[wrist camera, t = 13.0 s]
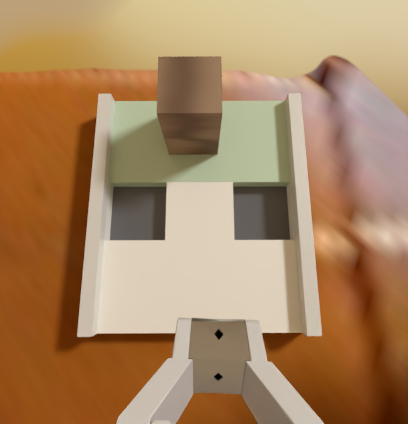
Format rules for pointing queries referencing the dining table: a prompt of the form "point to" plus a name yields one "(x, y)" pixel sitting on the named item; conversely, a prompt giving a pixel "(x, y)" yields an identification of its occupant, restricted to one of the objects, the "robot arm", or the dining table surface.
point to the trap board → (199, 223)
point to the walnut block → (190, 104)
